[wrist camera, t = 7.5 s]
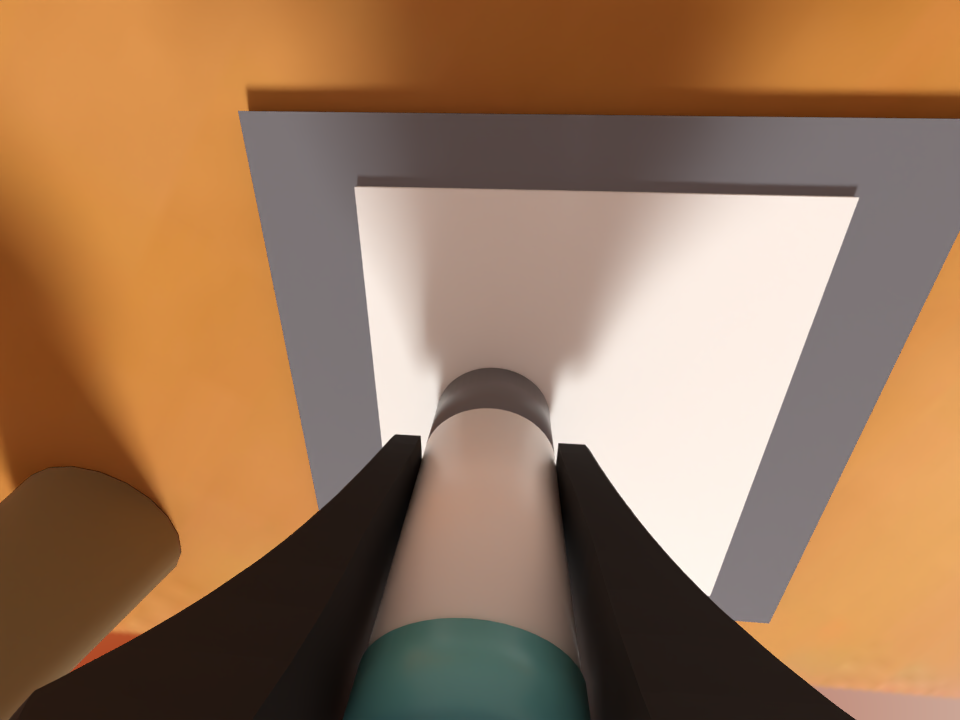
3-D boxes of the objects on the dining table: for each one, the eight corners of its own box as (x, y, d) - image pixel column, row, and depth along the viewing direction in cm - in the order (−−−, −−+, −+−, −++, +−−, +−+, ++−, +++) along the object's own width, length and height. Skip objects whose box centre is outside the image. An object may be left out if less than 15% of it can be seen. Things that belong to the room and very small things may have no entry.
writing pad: (994, 120, 9) (1023, 119, 9) (763, 612, 16) (772, 628, 16) (247, 111, 10) (232, 110, 10) (338, 580, 17) (333, 595, 17)
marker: (556, 369, 12) (618, 722, 5) (546, 466, 13) (583, 847, 6) (433, 363, 12) (313, 694, 5) (437, 459, 14) (349, 822, 6)
